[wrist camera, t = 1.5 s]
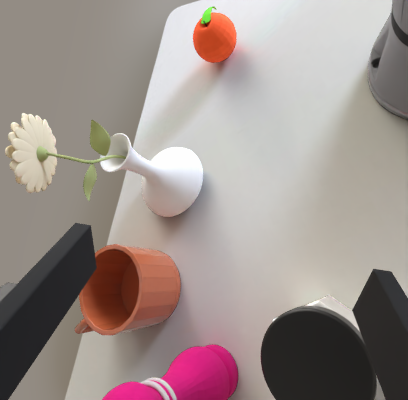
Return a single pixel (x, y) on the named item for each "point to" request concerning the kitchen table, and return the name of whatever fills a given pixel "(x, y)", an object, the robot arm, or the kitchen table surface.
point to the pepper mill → (187, 378)
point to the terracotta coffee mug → (128, 290)
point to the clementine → (214, 36)
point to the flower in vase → (107, 165)
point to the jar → (317, 354)
